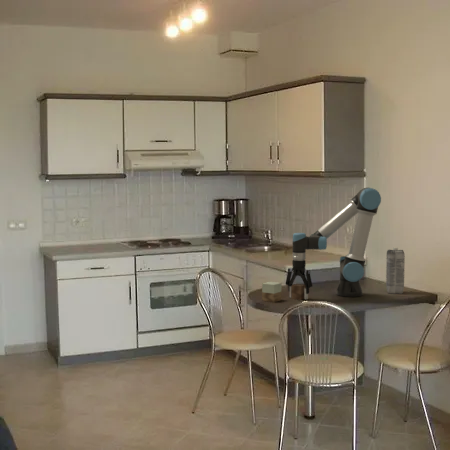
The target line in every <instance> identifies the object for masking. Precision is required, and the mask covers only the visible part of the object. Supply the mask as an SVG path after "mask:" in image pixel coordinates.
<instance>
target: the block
mask: <svg viewBox="0 0 450 450" xmlns="http://www.w3.org/2000/svg"><path fill="white" fill-rule="evenodd" d="M305 288H306V287H305V285H304V283H296V284H294V283H293V284H292V297H291V299H292V300H299V301H301V300H305V299H304V290H305Z"/></svg>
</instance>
